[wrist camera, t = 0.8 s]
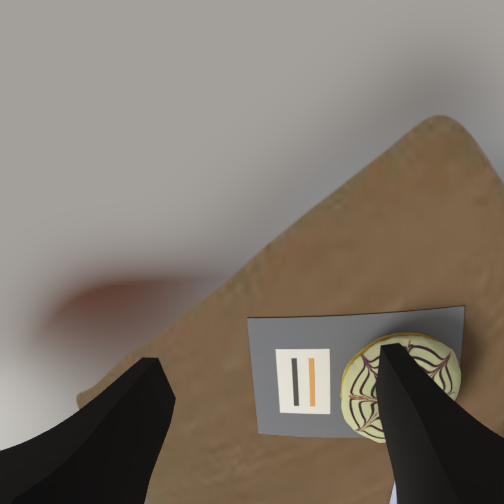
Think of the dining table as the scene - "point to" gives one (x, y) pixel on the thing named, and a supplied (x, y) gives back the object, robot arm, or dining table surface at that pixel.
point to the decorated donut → (366, 369)
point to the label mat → (325, 364)
